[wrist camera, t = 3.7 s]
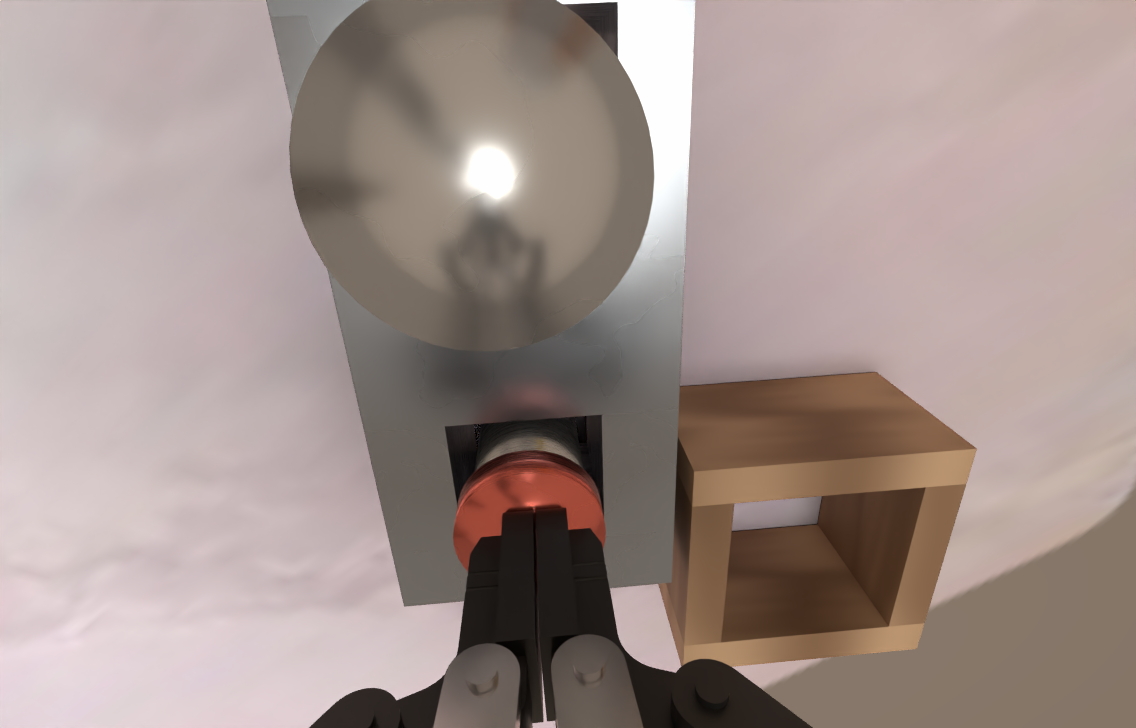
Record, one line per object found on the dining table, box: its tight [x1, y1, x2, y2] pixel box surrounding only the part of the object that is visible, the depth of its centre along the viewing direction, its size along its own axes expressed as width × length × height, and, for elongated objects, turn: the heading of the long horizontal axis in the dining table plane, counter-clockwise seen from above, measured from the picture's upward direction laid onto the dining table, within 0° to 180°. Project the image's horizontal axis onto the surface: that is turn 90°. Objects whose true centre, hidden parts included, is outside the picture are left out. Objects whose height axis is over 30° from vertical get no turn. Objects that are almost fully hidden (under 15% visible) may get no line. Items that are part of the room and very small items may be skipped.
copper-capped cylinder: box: [453, 417, 606, 571], centre depth 16 cm, size 4×4×6 cm
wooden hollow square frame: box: [659, 372, 977, 667], centre depth 20 cm, size 8×8×5 cm
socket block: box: [266, 0, 695, 606], centre depth 16 cm, size 8×16×5 cm, turn 3°
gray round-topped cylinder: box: [289, 0, 654, 351], centre depth 11 cm, size 4×4×11 cm
